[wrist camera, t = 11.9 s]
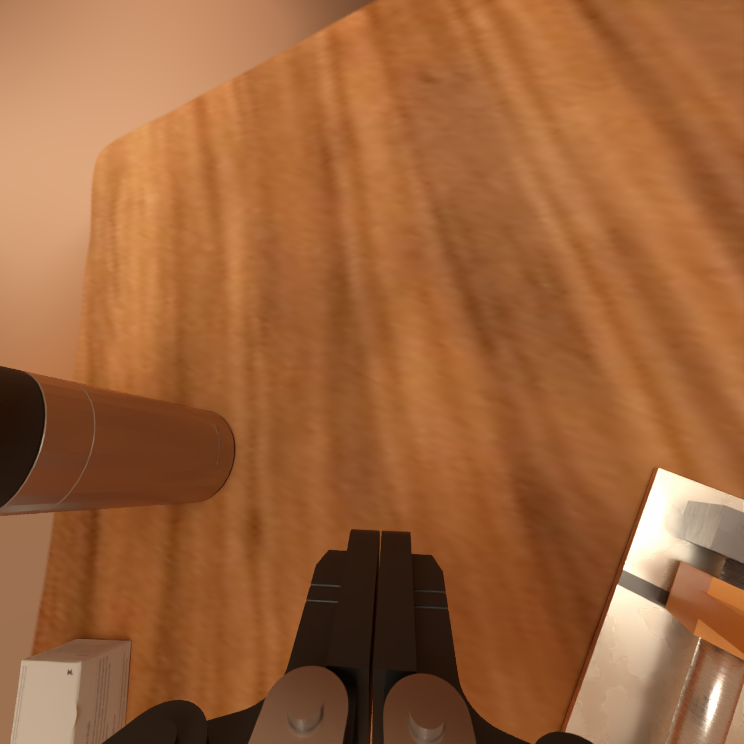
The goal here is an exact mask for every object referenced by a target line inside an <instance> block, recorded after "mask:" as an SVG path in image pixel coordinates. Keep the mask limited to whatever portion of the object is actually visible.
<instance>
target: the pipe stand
mask: <svg viewBox="0 0 744 744" xmlns="http://www.w3.org/2000/svg"><path fill="white" fill-rule="evenodd" d="M681 561H683V562H686V563H688V564H690V565H692V566H694V567H697V568H699V569H701V570H703V571H705V572H708V573H710V574H712V575H714V576H717V577H719V579H721V580H723V581H725V582H727V583H729V584H731V585H734V586H736V587H738V588H740V589H742V590H744V500H743V499H740V498H737V497H735V496H732V495H729V494H727V493H724V492H721V491H719V490H716V489H713V488H711V487H708V486H705V485H703V484H700V483H697V482H695V481H692V480H689V479H687V478H684V477H681V476H679V475H676V474H673V473H671V472H668V471H665V470H663V469H660V468H654V470H653V473H652V476H651V479H650V481H649V484H648V487H647V490H646V493H645V496H644V498H643V501H642V504H641V507H640V510H639V512H638V515H637V518H636V521H635V524H634V526H633V529H632V532H631V535H630V538H629V540H628V543H627V546H626V549H625V552H624V554H623V557H622V560H621V563H620V566H619V568H618V571H617V574H616V577H615V580H614V582H613V585H612V588H611V591H610V594H609V596H608V599H607V602H606V605H605V608H604V611H603V613H602V616H601V619H600V622H599V625H598V627H597V630H596V633H595V636H594V639H593V641H592V644H591V647H590V650H589V653H588V655H587V658H586V661H585V664H584V667H583V669H582V672H581V675H580V678H579V681H578V683H577V686H576V689H575V692H574V695H573V697H572V700H571V703H570V706H569V709H568V711H567V714H566V717H565V720H564V723H563V726H562V728H561V731H560V732H567V733H572V734H575V735H578V736H581V737H583V738H585V739H587V740H589V741H590V742H592V743H593V744H744V660H743V659H741V658H739V657H737V656H735V655H733V654H731V653H729V652H727V651H725V650H723V649H721V648H719V647H717V646H715V645H713V644H711V643H710V642H708V641H706V640H704V639H702V638H700V637H698V636H696V635H694V634H693V633H692V632H690V631H689V630H688V629H687V628H686V627H685V626H684V625H683V624H681V623H680V622H679V621H678V620H677V619H676V618H675V617H674V616H673V615H671V614H670V613H669V612H668V611H667V610H666V609H665V606H666V603H667V600H668V597H669V594H670V591H671V588H672V586H673V583H674V580H675V577H676V574H677V571H678V568H679V565H680V562H681Z"/></svg>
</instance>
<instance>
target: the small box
mask: <svg viewBox="0 0 744 744" xmlns="http://www.w3.org/2000/svg"><path fill="white" fill-rule="evenodd" d="M130 652H131V640H99V639H75V640H73V641H70V642H68V643H65V644H63V645H60V646H58V647H55V648H52V649H50V650H47V651H44V652H42V653H39V654H37V655H34V656H31V657H28V658H26V659H24V660H22V662H21V670H20V678H19V686H18V694H17V701H16V708H15V715H14V722H13V729H12V736H11V743H10V744H102V743H103V742H104V741H106V740H107V739H108V738H110V737H111V736H112V735H114V734H115V733H116V732H118V731H119V730H120V729H122V728H123V727H124V726H125V721H126V708H127V694H128V680H129V666H130Z"/></svg>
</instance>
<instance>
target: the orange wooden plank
mask: <svg viewBox="0 0 744 744" xmlns="http://www.w3.org/2000/svg"><path fill="white" fill-rule="evenodd" d="M665 609H666V610H667V611H668V612H669V613H670V614H671V615H673V616H674V617H675V618H676V619H677V620H678V621H679V622H680V623H681V624H683V625H684V626H685V627H686V628H687V629H688V630H689V631H690V632H692V633H693V634H694V635H696V636H698V637H700V638H702V639H704V640H706V641H708V642H710V643H711V644H713V645H715V646H717V647H719V648H721V649H723V650H725V651H727V652H729V653H731V654H733V655H735V656H737V657H739V658H741V659H743V660H744V590H742V589H740V588H738V587H736V586H734V585H731V584H729V583H727V582H725V581H723V580H721V579H719V577H717V576H714V575H712V574H710V573H708V572H705V571H703V570H701V569H699V568H697V567H694V566H692V565H690V564H688V563H686V562H683V561H681V562H680V565H679V568H678V571H677V574H676V577H675V580H674V583H673V586H672V588H671V591H670V594H669V597H668V600H667V603H666V606H665Z"/></svg>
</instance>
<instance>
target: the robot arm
mask: <svg viewBox="0 0 744 744" xmlns="http://www.w3.org/2000/svg"><path fill="white" fill-rule="evenodd" d="M233 459H234V441H233V436H232V433H231V430H230V428H229V426H228V425H227V423H226V422H225V421H224V420H223V419H222V418H221V417H220V416H218V415H217V414H215V413H212V412H208V411H204V410H199V409H195V408H190V407H186V406H182V405H177V404H173V403H168V402H164V401H159V400H154V399H150V398H145V397H141V396H136V395H132V394H127V393H122V392H118V391H113V390H109V389H104V388H99V387H95V386H90V385H86V384H81V383H77V382H71V381H66V380H62V379H57V378H53V377H48V376H43V375H38V374H34V373H30V372H25V371H20V370H16V369H11V368H7V367H2V366H0V516H8V515H22V514H36V513H48V512H62V511H77V510H91V509H106V508H121V507H135V506H150V505H167V504H181V503H194V502H200V501H203V500H205V499H208V498H209V497H211V496H212V495H213V494H215V493H216V492H217V491H218V490H219V489H220V488H221V486H222V485H223V484H224V482H225V480H226V479H227V477H228V475H229V472H230V470H231V468H232V463H233ZM379 548H380V531H376V530H355V529H351V532H350V537H349V543H348V548H347V551H338V550H328V552H327V553H326V554H325V555H324V556H323V557H322V559H321V560H320V561H319V562H318V563H317V564H316V567H315V571H314V574H313V578H312V582H311V587H310V589H309V592H308V596H307V602H306V603H305V607H304V610H303V614H302V617H301V621H300V624H299V628H298V632H297V635H296V639H295V642H294V646H293V649H292V653H291V656H290V660H289V664H288V667H287V669H286V672H285V674H284V676H283V677H281V678H280V679H279V680H278V681H277V682H276V683H275V684H274V686H273V687H272V688H271V690H270V691H269V693H268V695H267V697H266V698H265V699H263V700H262V701H260V702H259V703H257V704H256V705H254V706H252V707H250V708H248V709H245V710H242V711H239V712H236V713H232V714H229V715H225V716H222V717H218V718H215V719H211V720H208V721H206V718H205V716H204V713H203V712H202V710H201V709H200V708H199V707H198V706H196V705H195V704H194V703H191V702H188V701H183V700H173V701H168V702H164V703H161V704H159V705H156V706H154V707H152V708H150V709H148V710H147V711H145V712H144V713H142V714H141V715H139V716H138V717H137V718H135V719H134V720H133V721H131V722H130V723H129V724H127V725H126V726H124V727H123V728H122V729H120V730H119V731H118V732H116V733H115V734H114V735H112V736H111V737H110V738H108V739H107V740H106V741H104V742H103V743H102V744H370V734H371V717H372V701H373V730H372V744H530V743H528V742H525V741H523V740H521V739H519V738H516V737H514V736H512V735H510V734H507V733H505V732H503V731H501V730H499V729H497V728H495V727H493V726H492V725H491V724H489V723H488V722H486V721H485V720H484V719H483V718H482V717H481V716H480V715H478V713H477V712H476V711H475V710H474V709H473V708H472V706H471V705H470V704H469V702H468V701H467V699H466V697H465V695H464V693H463V691H462V688H461V686H460V682H459V678H458V672H457V665H456V658H455V651H454V645H453V638H452V631H451V624H450V618H449V611H448V604H447V597H446V593H445V584H444V577H443V571H442V570H441V568H440V567H439V565H438V564H437V562H436V561H435V559H434V558H433V556H432V555H419V554H411V535H410V532H399V531H382V536H381V552H380V568H379ZM535 744H593V743H592V742H590V741H589V740H587V739H585V738H583V737H581V736H578V735H575V734H572V733H567V732H552V733H548V734H546V735H544V736H542V737H541V738H540V739H539V740H538V741H537V742H536V743H535Z"/></svg>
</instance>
